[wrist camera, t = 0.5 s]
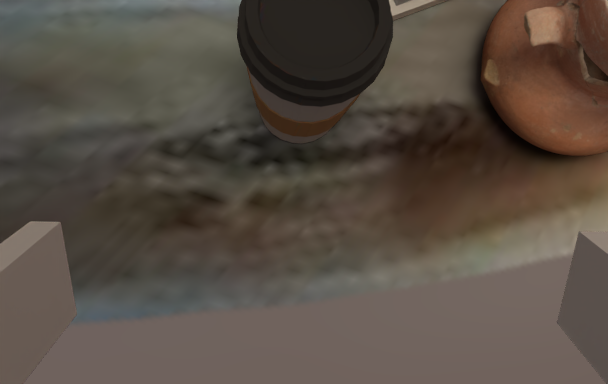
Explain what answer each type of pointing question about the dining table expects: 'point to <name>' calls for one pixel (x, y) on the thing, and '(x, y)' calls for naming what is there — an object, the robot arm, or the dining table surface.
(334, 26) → the coffee cup
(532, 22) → the ceramic jug
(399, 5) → the collar board
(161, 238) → the dining table surface
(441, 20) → the dining table surface
